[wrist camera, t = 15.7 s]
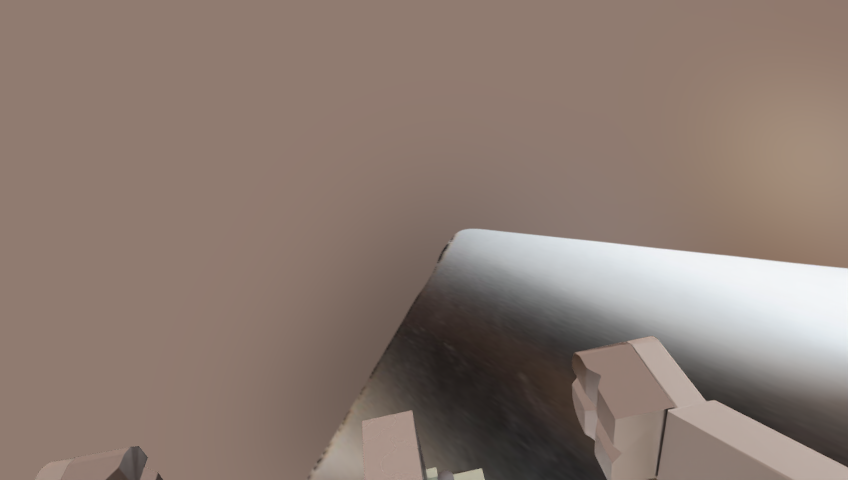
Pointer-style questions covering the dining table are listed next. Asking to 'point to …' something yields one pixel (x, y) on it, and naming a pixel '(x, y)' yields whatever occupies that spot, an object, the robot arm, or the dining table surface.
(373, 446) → the block
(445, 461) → the dining table surface
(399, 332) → the dining table surface
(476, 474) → the peg board
